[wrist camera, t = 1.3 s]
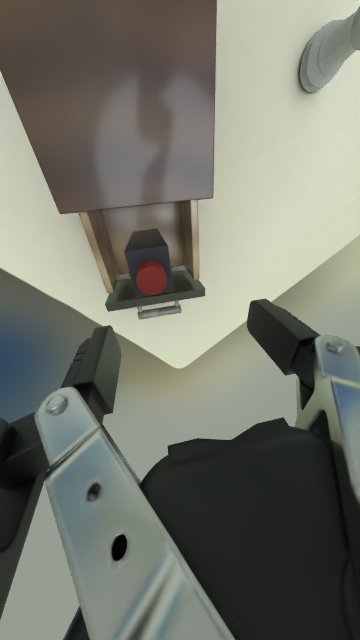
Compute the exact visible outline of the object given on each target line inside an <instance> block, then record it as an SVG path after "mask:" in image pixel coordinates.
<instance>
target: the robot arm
mask: <svg viewBox="0 0 360 640" xmlns="http://www.w3.org/2000/svg"><path fill="white" fill-rule="evenodd" d="M247 328H248V331H249V332H250V334H251V335H252V336H253V337H254V339H255V340H256V341H257V342H258V343H259V344H260V346H261V347H262V348H263V349H264V350H265V352H266V353H267V354H268V355H269V356H270V358H271V359H272V360H273V361H274V362H275V364H276V365H277V366H278V367H279V368H280V369H281V371H282V372H283V373H284V374H285V375H290V374H296V375H297V376H298V377H297V380H296V392H297V393H296V395H297V419H296V423H295V427H291V426H289V425H288V424H287V422H286V421H285V419H284V418H279V419H275V420H271V421H267V422H262V423H258V424H256V425H254V426H252V427H251V428H249V429H248V430H246V431H245V432H243V433H242V434H240V435H238V436H237V437H235V438H234V439H232V440H216V439H198V438H197V439H193V440H189V441H185V442H181V443H177V444H173V445H169V446H168V455H167V456H166V457H164V458H163V459H161V460H160V461H159V462H158V463H157V464H156V465H154V466H153V468H152V469H151V470H150V471H149V472H148V473H147V475H146V476H145V477H144V479H143V480H142V482H141V480H140V479H139V477H138V476H137V475H136V473H135V471H134V470H133V469H132V467H131V466H130V464H129V463H128V461H127V460H126V459H125V457H124V456H123V454H122V453H121V451H120V450H119V449H118V447H117V445H116V444H115V443H114V441H113V439H112V438H111V436H110V435H109V433H108V432H107V430H106V429H105V427H104V426H103V424H102V422H103V416H104V415H105V414H110V413H113V407H114V401H115V393H116V387H117V381H118V374H119V367H120V361H121V349H120V346H119V343H118V341H117V339H116V336H115V333H114V331H113V328H112V327H111V326H110V325H109V326H103V327H98V328H95V329H94V332H93V334H92V337H91V338H89V339H86V340H85V341H84V342H83V343H82V344H81V345H80V346H79V349H78V351H77V353H76V356H75V358H74V360H73V363H72V364H71V366H70V368H69V371H68V373H67V375H66V377H65V379H64V382H63V384H62V386H61V388H60V389H59V390H57V391H55V392H53V393H51V394H50V395H49V396H47V397H46V398H45V399H44V400H43V401H42V402H41V403H40V405H39V406H38V408H37V410H36V412H34V413H32V414H30V415H27V416H25V417H23V418H21V419H19V420H17V421H14V422H13V423H10V424H9V423H8V422H7V421H5V420H4V419H2V418H0V619H1V616H2V613H3V609H4V606H5V603H6V600H7V597H8V594H9V590H10V587H11V584H12V581H13V578H14V575H15V572H16V568H17V565H18V562H19V559H20V556H21V552H22V549H23V546H24V543H25V540H26V537H27V534H28V531H29V527H30V524H31V521H32V518H33V515H34V511H35V508H36V505H37V502H38V499H39V496H40V492H41V490H42V486H43V483H44V480H45V485H46V489H47V492H48V496H49V499H50V502H51V506H52V509H53V512H54V517H55V520H56V523H57V527H58V530H59V534H60V537H61V540H62V544H63V547H64V551H65V555H66V558H67V562H68V565H69V569H70V572H71V576H72V579H73V583H74V586H75V589H76V593H77V596H78V600H79V603H80V606H79V608H78V610H77V612H76V614H75V616H74V618H73V620H72V622H71V624H70V627H69V628H68V631H67V633H66V635H65V637H64V639H63V640H360V347H359V346H354V345H353V344H351V343H350V342H348V341H346V340H344V339H342V338H339V337H336V336H330V335H322V336H321V335H319V334H318V333H317V332H315V331H314V330H312V329H311V328H310V327H308V326H307V325H306V324H304V323H303V322H302V321H300V320H298V318H296V317H295V316H292V314H291V313H289V312H288V311H287V310H285V309H283V308H281V307H278V306H276V305H274V304H272V303H271V302H270V301H269V300H267V299H260V300H254V301H251V303H250V307H249V313H248V319H247ZM48 469H50V470H49V471H48Z"/></svg>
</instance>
